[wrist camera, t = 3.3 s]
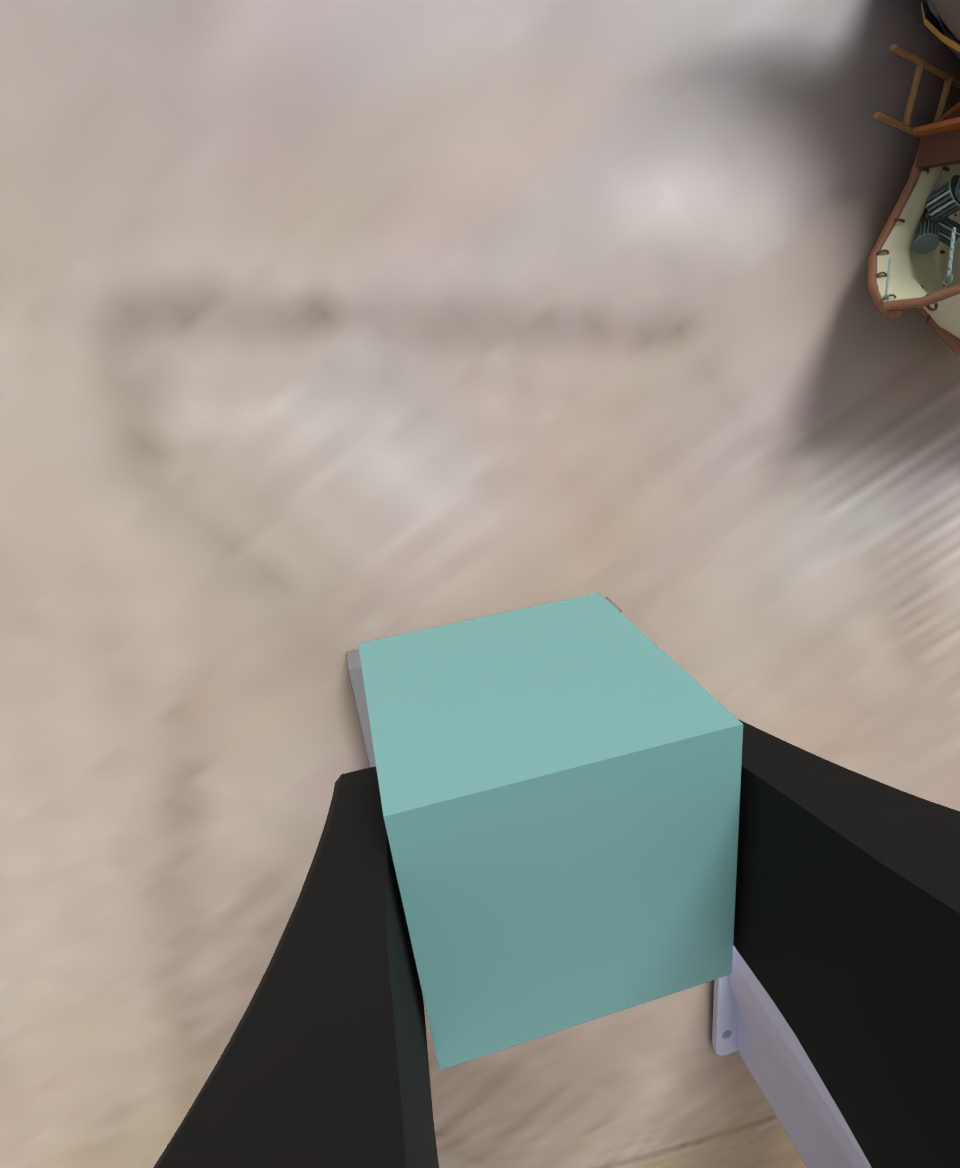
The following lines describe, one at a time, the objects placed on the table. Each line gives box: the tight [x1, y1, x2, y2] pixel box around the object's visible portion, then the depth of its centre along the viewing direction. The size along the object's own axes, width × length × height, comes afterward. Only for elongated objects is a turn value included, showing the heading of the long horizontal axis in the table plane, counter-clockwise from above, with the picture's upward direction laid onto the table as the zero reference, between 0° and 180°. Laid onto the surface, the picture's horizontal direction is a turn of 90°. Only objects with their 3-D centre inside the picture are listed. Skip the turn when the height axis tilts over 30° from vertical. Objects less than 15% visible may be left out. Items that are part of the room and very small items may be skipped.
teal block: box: [358, 593, 743, 1071], centre depth 9 cm, size 4×4×4 cm
